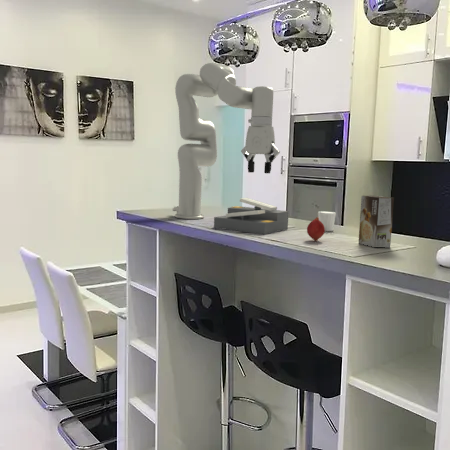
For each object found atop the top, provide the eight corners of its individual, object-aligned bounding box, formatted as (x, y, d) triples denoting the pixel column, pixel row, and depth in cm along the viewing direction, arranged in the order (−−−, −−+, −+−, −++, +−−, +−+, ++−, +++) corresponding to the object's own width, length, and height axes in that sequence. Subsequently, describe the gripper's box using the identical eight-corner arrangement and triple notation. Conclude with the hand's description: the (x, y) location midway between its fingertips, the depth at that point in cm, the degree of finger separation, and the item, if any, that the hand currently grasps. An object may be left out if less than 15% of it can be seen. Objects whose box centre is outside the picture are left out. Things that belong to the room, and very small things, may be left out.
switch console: (213, 227, 192) (214, 205, 190) (239, 223, 206) (240, 203, 205) (264, 234, 179) (265, 211, 178) (287, 229, 194) (288, 208, 193)
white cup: (333, 229, 200) (334, 211, 199) (335, 231, 194) (337, 213, 193) (316, 228, 201) (317, 210, 200) (317, 230, 194) (318, 212, 193)
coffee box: (391, 247, 162) (395, 197, 160) (375, 248, 159) (379, 197, 157) (372, 242, 170) (376, 195, 168) (357, 243, 168) (360, 195, 166)
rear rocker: (239, 201, 197) (240, 198, 197) (246, 200, 201) (246, 197, 201) (270, 210, 190) (271, 207, 190) (276, 209, 194) (277, 206, 194)
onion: (304, 241, 168) (306, 217, 167) (308, 238, 174) (309, 215, 172) (322, 242, 166) (324, 218, 165) (325, 240, 172) (326, 216, 170)
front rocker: (226, 217, 190) (225, 213, 190) (233, 216, 195) (233, 212, 194) (258, 214, 182) (257, 210, 182) (265, 213, 187) (264, 209, 187)
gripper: (235, 121, 183) (233, 171, 185) (277, 121, 173) (275, 174, 176) (246, 123, 189) (244, 171, 191) (287, 123, 180) (285, 174, 182)
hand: (259, 172), depth 184 cm, fingers open, 6 cm apart
